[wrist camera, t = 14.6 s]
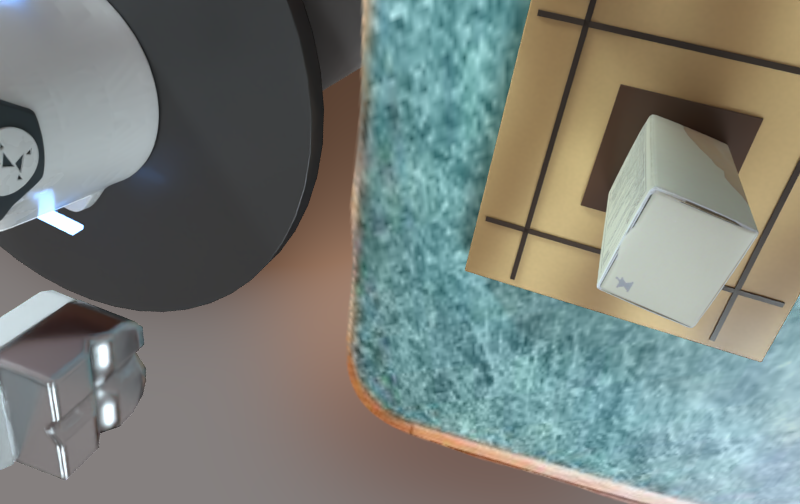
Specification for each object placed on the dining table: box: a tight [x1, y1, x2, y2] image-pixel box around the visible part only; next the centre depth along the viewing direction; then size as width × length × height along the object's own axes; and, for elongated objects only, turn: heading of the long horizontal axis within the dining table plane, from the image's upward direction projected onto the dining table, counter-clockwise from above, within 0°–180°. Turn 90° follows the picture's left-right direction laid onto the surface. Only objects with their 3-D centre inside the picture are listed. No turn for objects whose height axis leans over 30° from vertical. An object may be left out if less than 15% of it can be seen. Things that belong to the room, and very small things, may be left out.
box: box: [597, 115, 759, 328], centre depth 31 cm, size 5×4×11 cm
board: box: [465, 0, 800, 362], centre depth 36 cm, size 18×20×2 cm
